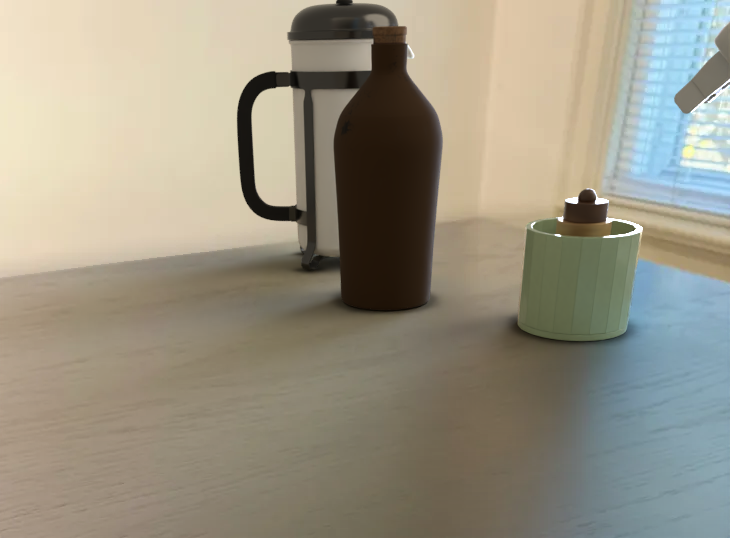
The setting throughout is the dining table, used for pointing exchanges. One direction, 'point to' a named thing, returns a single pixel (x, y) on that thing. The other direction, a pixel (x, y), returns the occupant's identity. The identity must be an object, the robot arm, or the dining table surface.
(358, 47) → the coffee press
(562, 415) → the dining table surface
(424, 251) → the olive oil
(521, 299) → the cup
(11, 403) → the dining table surface
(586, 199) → the pepper mill
